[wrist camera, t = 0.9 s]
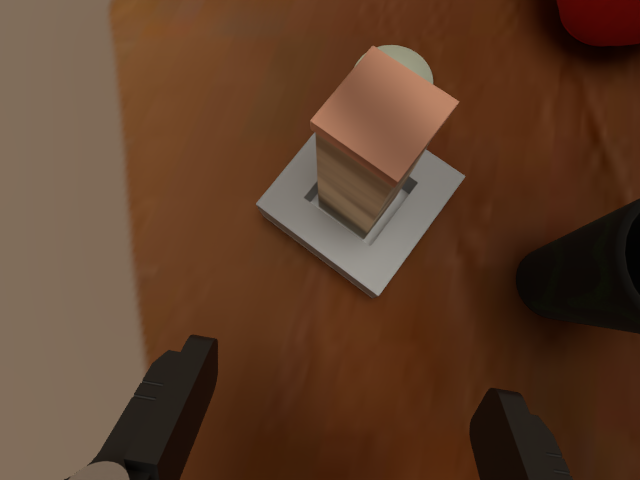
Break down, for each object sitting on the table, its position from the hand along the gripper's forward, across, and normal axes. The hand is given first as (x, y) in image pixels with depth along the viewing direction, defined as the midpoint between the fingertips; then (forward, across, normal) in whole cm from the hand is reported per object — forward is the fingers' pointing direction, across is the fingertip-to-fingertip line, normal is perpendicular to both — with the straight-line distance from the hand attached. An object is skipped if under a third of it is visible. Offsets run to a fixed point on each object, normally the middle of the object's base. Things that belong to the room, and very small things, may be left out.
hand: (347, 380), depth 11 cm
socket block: (+21, -1, +4) cm, 21 cm away
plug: (+20, -1, +4) cm, 21 cm away
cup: (+18, -17, +7) cm, 26 cm away
